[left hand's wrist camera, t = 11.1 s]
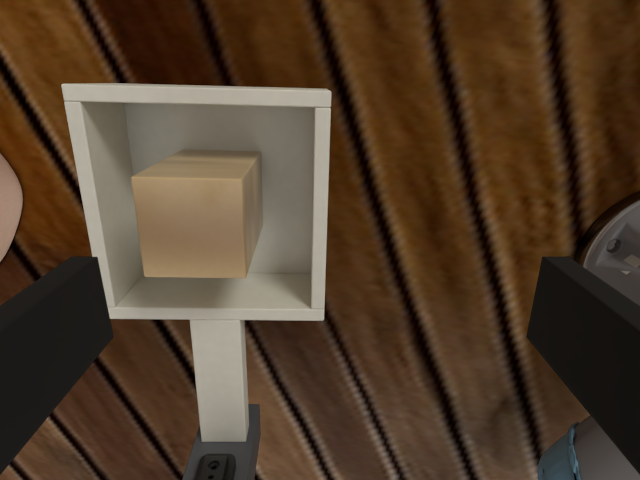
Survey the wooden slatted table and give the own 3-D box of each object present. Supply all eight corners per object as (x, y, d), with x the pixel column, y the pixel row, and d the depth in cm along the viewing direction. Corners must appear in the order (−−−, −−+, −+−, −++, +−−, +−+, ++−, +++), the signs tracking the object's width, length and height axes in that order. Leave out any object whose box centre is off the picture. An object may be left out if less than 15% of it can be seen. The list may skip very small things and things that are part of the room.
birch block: (263, 226, 28) (246, 278, 21) (188, 225, 28) (143, 277, 20) (261, 151, 26) (242, 178, 19) (181, 149, 26) (129, 176, 19)
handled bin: (317, 415, 35) (321, 575, 23) (159, 414, 34) (86, 577, 23) (327, 88, 26) (340, 94, 14) (112, 83, 25) (-47, 84, 14)
